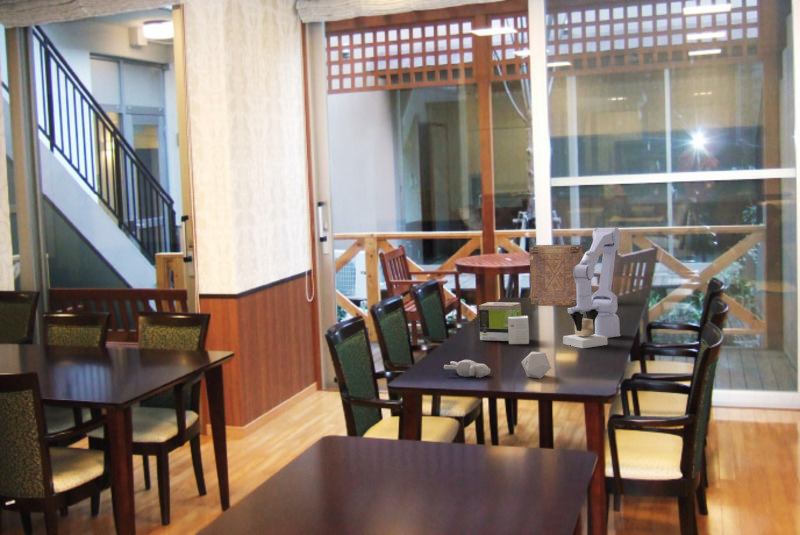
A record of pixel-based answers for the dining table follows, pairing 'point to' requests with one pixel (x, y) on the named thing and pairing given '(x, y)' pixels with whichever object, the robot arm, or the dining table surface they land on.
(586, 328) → the maple block
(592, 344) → the white square slab
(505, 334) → the tea box
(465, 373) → the bunny figurine
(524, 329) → the small box
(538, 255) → the book
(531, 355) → the die
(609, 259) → the robot arm
